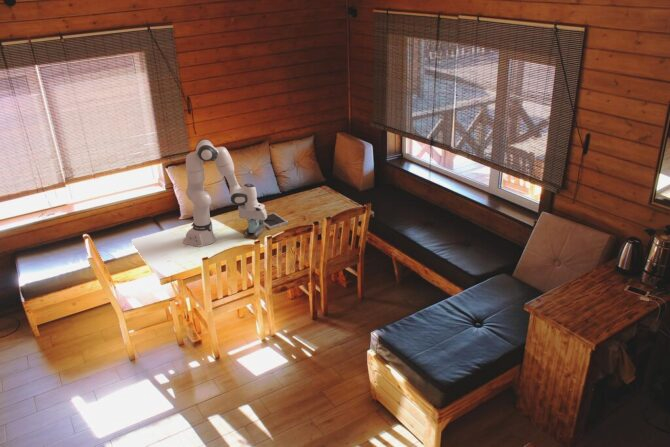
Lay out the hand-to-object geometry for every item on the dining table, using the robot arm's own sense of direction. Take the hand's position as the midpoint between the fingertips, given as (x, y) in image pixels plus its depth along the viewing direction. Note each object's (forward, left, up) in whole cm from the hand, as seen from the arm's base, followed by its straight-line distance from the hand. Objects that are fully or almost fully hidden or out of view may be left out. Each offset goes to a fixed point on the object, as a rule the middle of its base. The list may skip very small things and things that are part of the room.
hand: (253, 224), depth 404 cm
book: (0, 0, -4) cm, 4 cm away
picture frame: (+5, +21, -8) cm, 23 cm away
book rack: (0, 0, -7) cm, 7 cm away
